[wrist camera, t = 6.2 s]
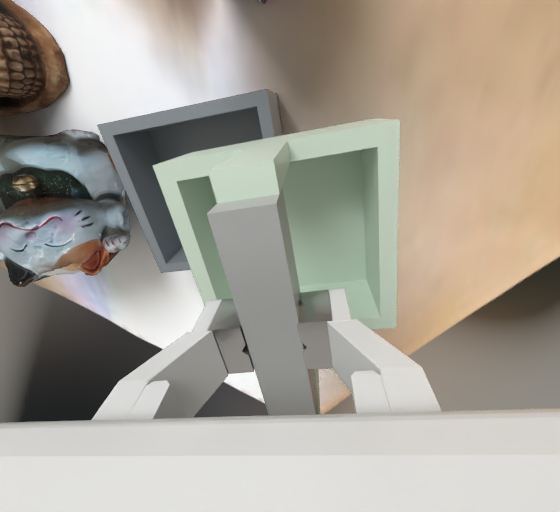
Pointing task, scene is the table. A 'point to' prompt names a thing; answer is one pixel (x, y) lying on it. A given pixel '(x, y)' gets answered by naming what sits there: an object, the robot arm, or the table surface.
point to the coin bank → (27, 62)
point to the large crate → (176, 142)
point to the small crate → (291, 237)
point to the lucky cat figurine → (59, 206)
